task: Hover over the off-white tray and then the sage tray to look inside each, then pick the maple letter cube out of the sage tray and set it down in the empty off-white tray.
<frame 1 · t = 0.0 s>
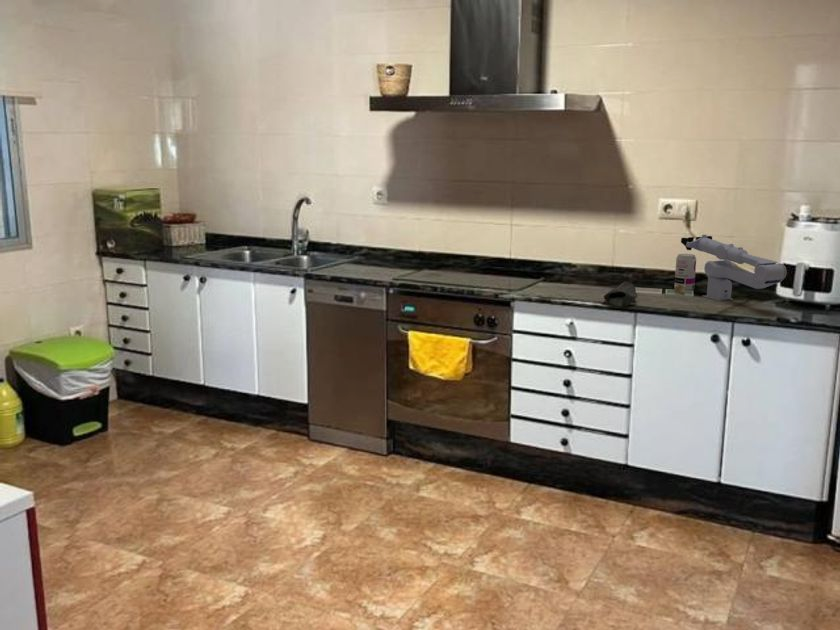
hand: (689, 239, 350), 22 cm above the worktop, fingers open, 7 cm apart
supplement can: (683, 289, 356), on the worktop
sage tray: (679, 296, 341), on the worktop
white tray: (647, 294, 345), on the worktop
letter cube: (679, 295, 341), point 1 cm above the worktop, touching sage tray
dark grey rubber slipper: (622, 302, 332), on the worktop
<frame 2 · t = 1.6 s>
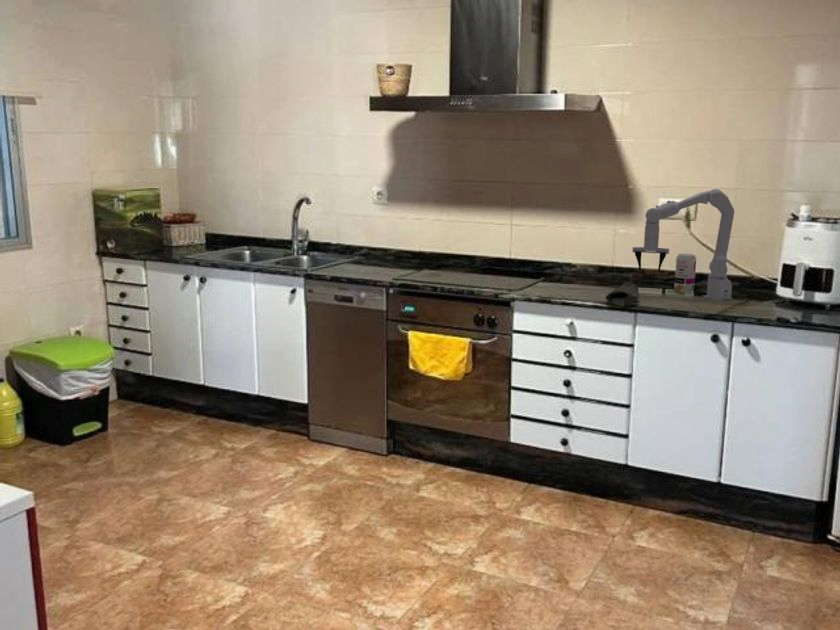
hand: (649, 270, 342), 10 cm above the worktop, fingers open, 7 cm apart
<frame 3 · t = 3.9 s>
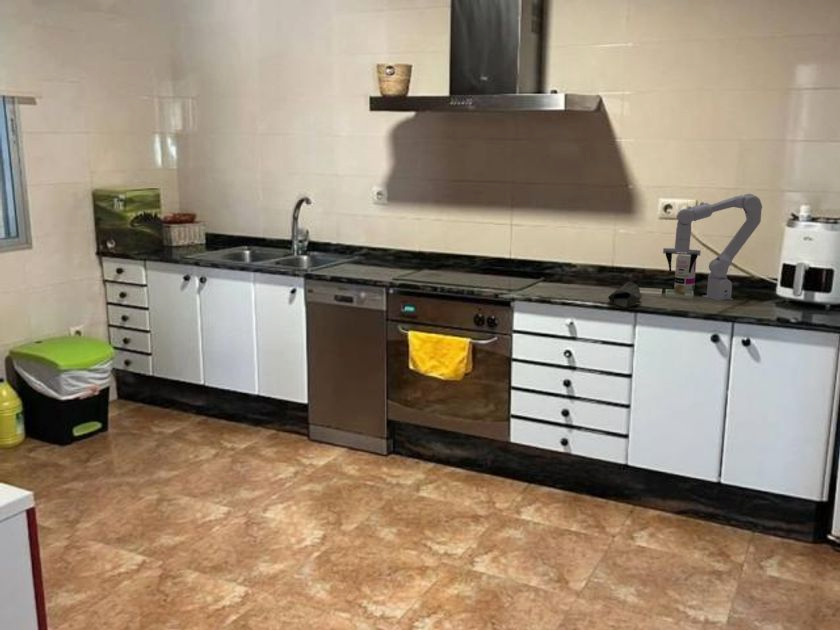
hand: (679, 271, 339), 10 cm above the worktop, fingers open, 7 cm apart
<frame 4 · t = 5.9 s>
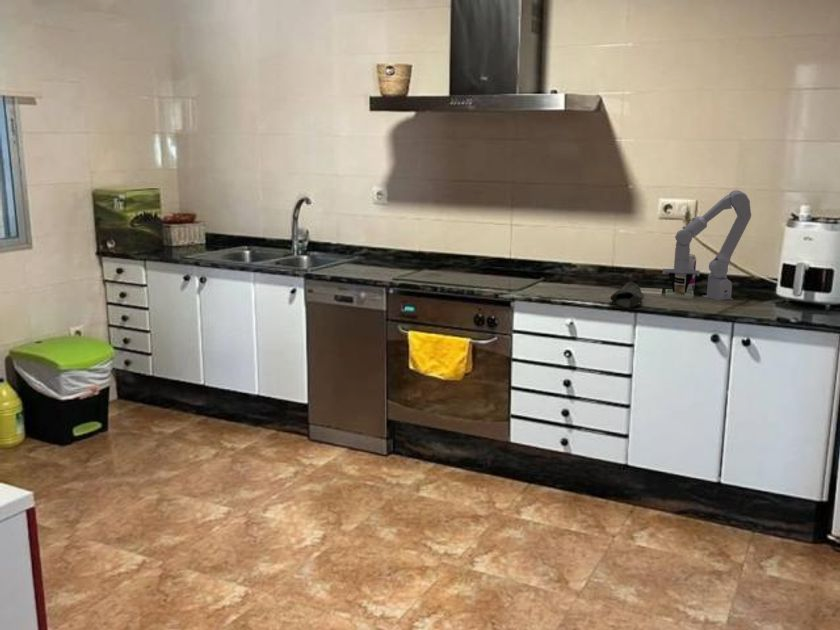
hand: (679, 291, 341), 2 cm above the worktop, fingers closed on letter cube, 4 cm apart
letter cube: (679, 295, 341), point 1 cm above the worktop, touching gripper, sage tray
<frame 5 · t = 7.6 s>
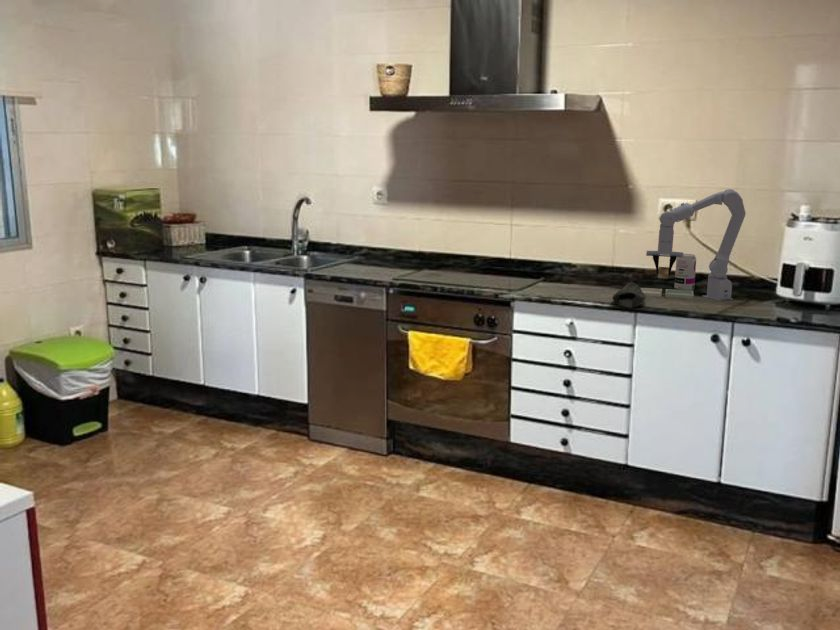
hand: (663, 273, 341), 9 cm above the worktop, fingers closed on letter cube, 4 cm apart
letter cube: (663, 277, 341), point 8 cm above the worktop, touching gripper
when the fingers open (3 cm above the worktop, at t = 9.5 s): letter cube drops 1 cm, resting on white tray.
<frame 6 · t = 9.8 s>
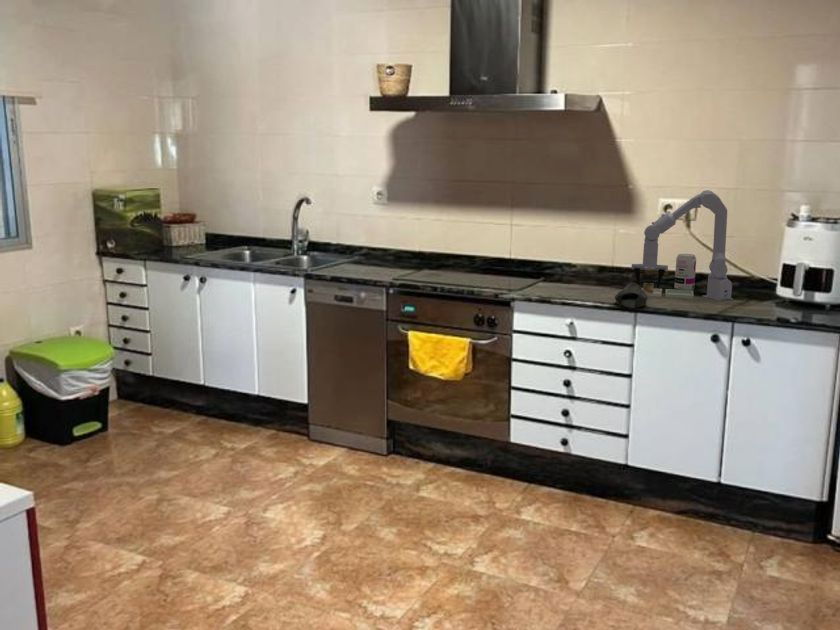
hand: (648, 286, 344), 3 cm above the worktop, fingers open, 7 cm apart
letter cube: (648, 293, 344), point 1 cm above the worktop, touching white tray
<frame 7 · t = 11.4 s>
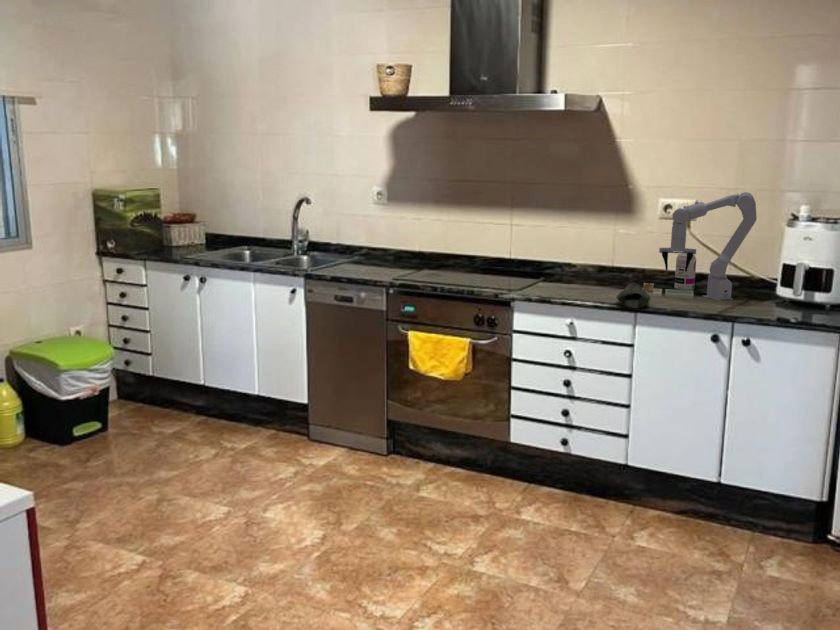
hand: (676, 270, 341), 10 cm above the worktop, fingers open, 7 cm apart
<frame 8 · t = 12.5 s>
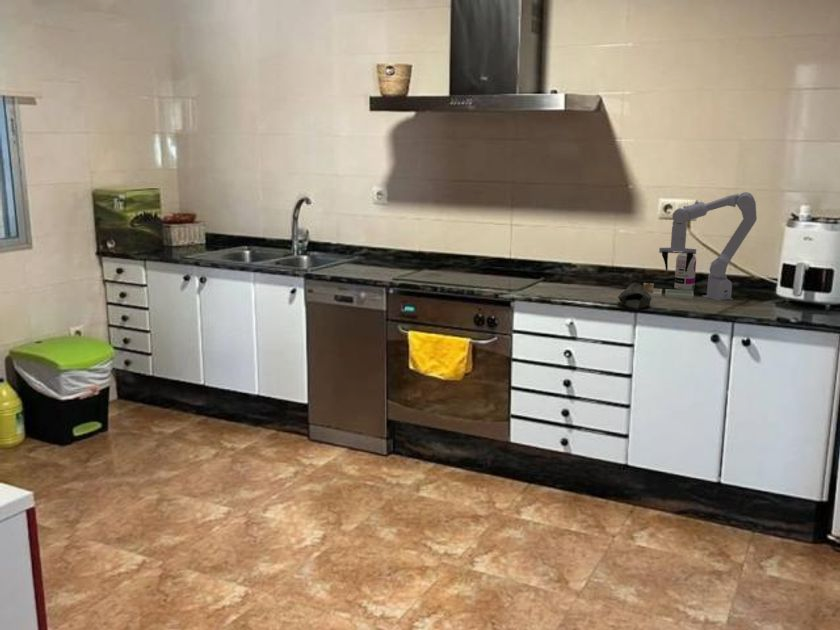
hand: (676, 270, 341), 10 cm above the worktop, fingers open, 7 cm apart
at the end: letter cube 0.1 cm off-centre on the white tray, point 0.6 cm above the white tray's base; the gripper is holding nothing; letter cube tilted 0° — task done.
